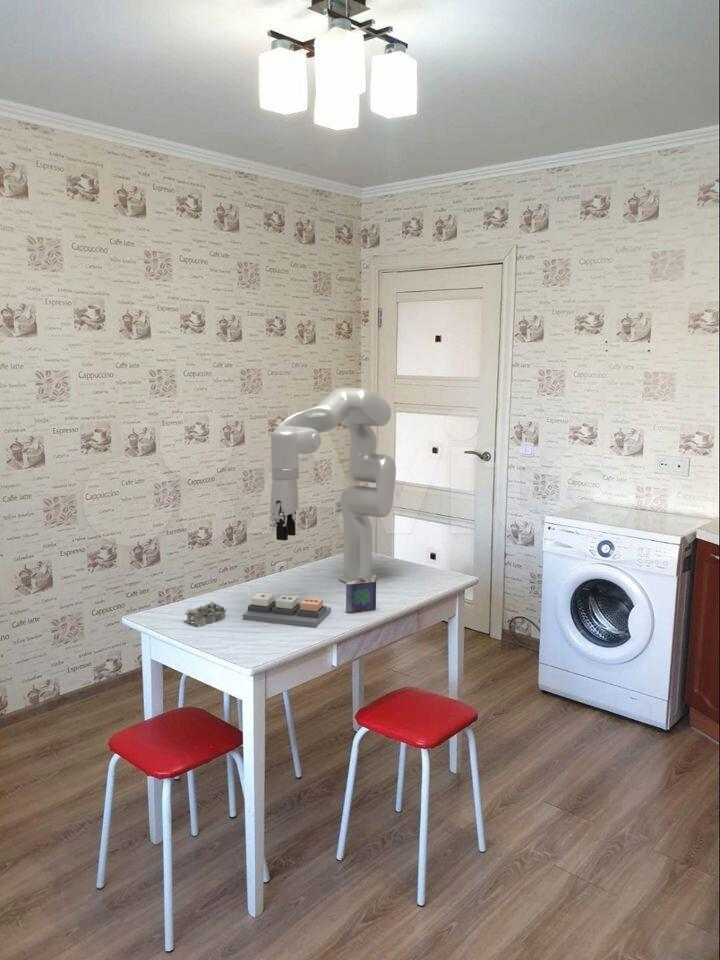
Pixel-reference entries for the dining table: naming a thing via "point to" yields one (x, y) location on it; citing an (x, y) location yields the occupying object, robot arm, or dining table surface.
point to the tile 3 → (311, 604)
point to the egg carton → (205, 614)
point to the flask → (361, 595)
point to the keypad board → (286, 615)
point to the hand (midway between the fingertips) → (286, 536)
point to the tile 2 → (287, 602)
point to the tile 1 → (262, 599)
